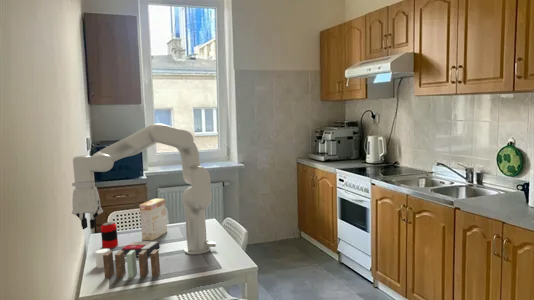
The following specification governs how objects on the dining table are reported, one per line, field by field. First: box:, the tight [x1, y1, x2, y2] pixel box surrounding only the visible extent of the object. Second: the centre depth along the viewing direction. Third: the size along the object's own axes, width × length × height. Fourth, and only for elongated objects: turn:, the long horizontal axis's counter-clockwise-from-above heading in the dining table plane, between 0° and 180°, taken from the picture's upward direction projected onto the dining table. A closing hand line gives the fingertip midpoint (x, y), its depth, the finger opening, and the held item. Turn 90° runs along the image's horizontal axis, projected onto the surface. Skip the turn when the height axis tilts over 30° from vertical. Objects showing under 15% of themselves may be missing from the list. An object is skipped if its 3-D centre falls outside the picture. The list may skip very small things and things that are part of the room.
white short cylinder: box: [93, 248, 111, 269], centre depth 188 cm, size 7×7×7 cm
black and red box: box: [120, 240, 161, 257], centre depth 205 cm, size 11×4×15 cm
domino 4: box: [137, 250, 149, 278], centre depth 175 cm, size 2×5×10 cm, turn 178°
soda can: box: [100, 221, 119, 249], centre depth 215 cm, size 8×8×12 cm
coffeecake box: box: [139, 198, 168, 241], centre depth 229 cm, size 15×7×20 cm, turn 162°
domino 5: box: [149, 249, 161, 277], centre depth 175 cm, size 2×5×10 cm, turn 178°
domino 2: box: [114, 250, 127, 279], centre depth 176 cm, size 2×5×10 cm, turn 178°
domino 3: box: [125, 250, 138, 279], centre depth 175 cm, size 2×5×10 cm, turn 179°
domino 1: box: [103, 250, 115, 279], centre depth 176 cm, size 2×5×10 cm, turn 178°
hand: (89, 227), depth 174 cm, fingers open, 2 cm apart
